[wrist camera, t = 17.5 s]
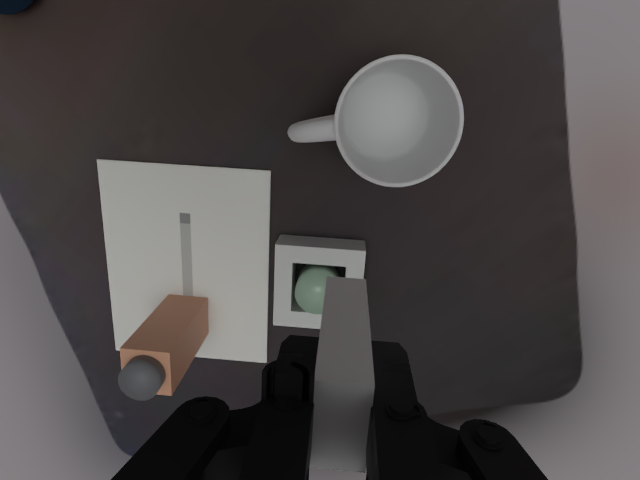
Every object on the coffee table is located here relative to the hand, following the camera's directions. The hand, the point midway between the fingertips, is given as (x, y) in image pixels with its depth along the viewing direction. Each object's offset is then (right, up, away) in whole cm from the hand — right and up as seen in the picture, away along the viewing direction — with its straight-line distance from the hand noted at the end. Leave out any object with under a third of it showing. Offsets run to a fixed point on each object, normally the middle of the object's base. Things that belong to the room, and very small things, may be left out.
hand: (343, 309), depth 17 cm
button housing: (-1, -1, +26) cm, 26 cm away
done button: (-1, -1, +25) cm, 25 cm away
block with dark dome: (-14, -5, +28) cm, 32 cm away
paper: (-14, 0, +26) cm, 30 cm away
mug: (+3, +13, +21) cm, 25 cm away
